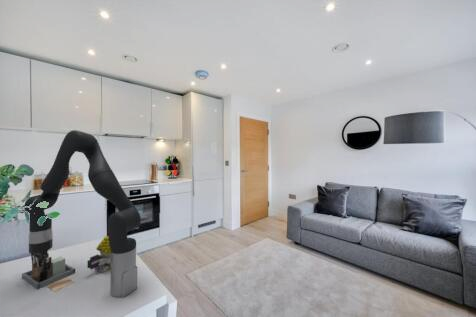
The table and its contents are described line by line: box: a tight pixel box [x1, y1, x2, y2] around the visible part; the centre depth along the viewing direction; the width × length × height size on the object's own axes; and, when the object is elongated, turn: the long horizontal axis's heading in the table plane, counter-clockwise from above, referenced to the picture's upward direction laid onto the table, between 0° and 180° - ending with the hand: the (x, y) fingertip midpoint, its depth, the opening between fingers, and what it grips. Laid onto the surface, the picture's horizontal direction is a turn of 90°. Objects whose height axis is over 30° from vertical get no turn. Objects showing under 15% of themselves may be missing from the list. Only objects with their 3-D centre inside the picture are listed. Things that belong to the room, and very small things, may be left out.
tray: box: [21, 263, 76, 290], centre depth 91 cm, size 16×13×2 cm
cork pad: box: [45, 276, 75, 293], centre depth 85 cm, size 7×7×1 cm
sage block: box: [50, 256, 66, 276], centre depth 93 cm, size 4×4×6 cm
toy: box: [86, 235, 111, 274], centre depth 96 cm, size 10×13×15 cm
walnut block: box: [31, 263, 50, 282], centre depth 88 cm, size 4×4×6 cm
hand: (41, 277), depth 88 cm, fingers closed on walnut block, 4 cm apart
